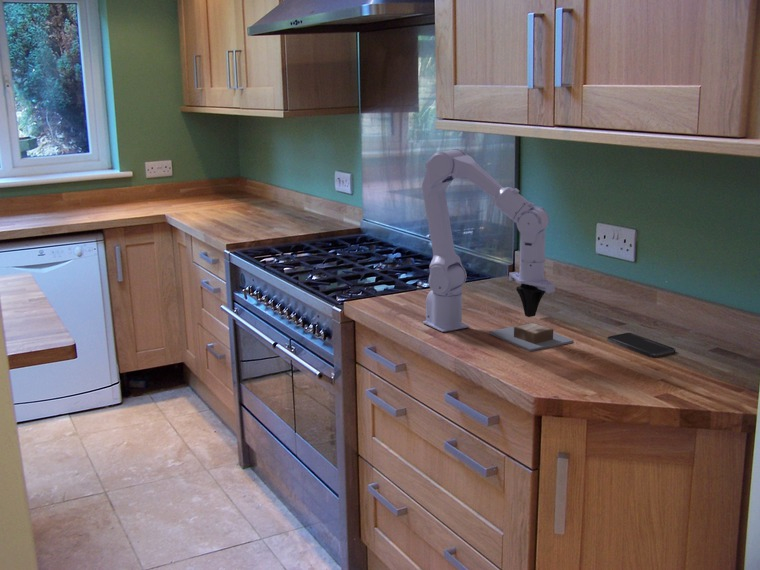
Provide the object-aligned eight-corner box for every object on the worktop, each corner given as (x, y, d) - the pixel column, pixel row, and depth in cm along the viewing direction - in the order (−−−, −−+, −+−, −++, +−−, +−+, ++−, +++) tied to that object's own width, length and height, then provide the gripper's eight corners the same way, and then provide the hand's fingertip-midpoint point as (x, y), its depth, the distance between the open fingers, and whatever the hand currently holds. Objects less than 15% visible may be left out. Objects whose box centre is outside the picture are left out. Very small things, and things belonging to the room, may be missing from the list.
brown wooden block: (514, 326, 197) (535, 333, 192) (532, 322, 200) (553, 329, 195) (513, 336, 198) (534, 344, 192) (531, 332, 201) (553, 339, 195)
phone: (652, 355, 183) (605, 336, 196) (652, 359, 183) (605, 341, 196) (678, 349, 187) (630, 332, 200) (677, 354, 187) (629, 336, 200)
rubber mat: (488, 333, 202) (488, 331, 202) (530, 325, 208) (530, 323, 208) (529, 351, 189) (529, 349, 189) (573, 342, 195) (573, 340, 195)
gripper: (499, 256, 197) (498, 311, 200) (538, 268, 184) (536, 326, 188) (522, 253, 200) (521, 306, 203) (563, 264, 188) (560, 321, 191)
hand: (530, 315), depth 196 cm, fingers closed
